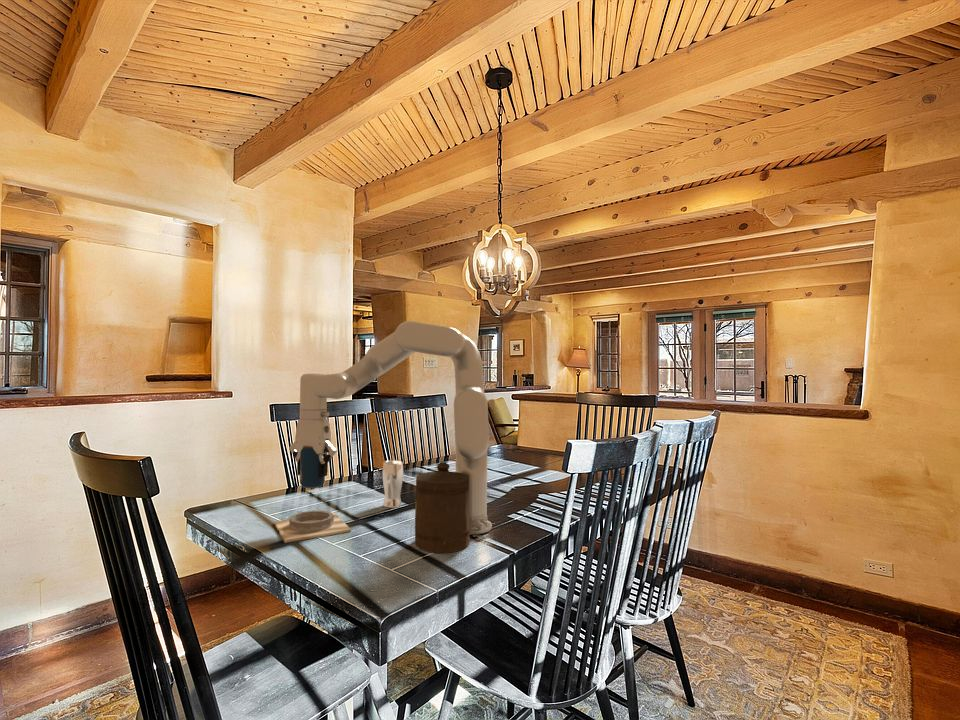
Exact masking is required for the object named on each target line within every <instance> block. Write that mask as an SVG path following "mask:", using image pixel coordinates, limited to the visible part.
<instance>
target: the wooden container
mask: <svg viewBox="0 0 960 720" xmlns="http://www.w3.org/2000/svg"><path fill="white" fill-rule="evenodd" d="M436 468H437V470H436V471H429V472H423V473H420V474H418V475H416V476H415V478H416V479H415V507H414V508H415V509H414V511H415V513H414V534H415V535H414V544H415V546H416V547H417V548H418V549H419V550H421V551H424V552H427V553H432V554H433V553H435V554H448V553H454V552H458V551H462V550H464V549H466V548H467V547H468V546H469V545H470V536H471V534H470V532H469V529H470V510H469V476H468V475H466V474H463V473H459V472H456V471H450V470H449V469H450V464H449V463H447V462H446V461H441V462H439V463H438V464H437V465H436Z"/></svg>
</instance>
